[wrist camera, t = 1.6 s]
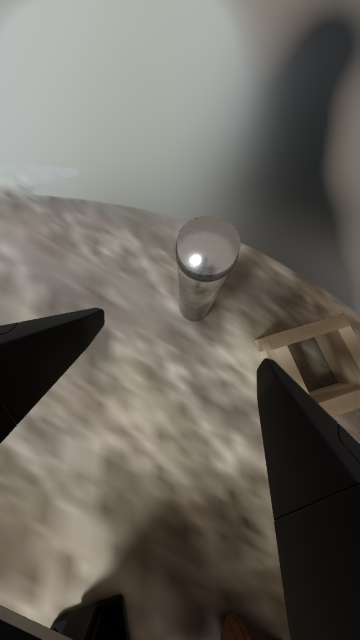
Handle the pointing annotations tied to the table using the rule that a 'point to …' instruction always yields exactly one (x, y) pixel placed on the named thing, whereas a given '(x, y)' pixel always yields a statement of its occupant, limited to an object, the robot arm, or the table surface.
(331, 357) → the socket block
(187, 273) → the silver metal cylinder
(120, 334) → the table surface
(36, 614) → the table surface
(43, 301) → the table surface
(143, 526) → the table surface
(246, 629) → the decorative turtle
